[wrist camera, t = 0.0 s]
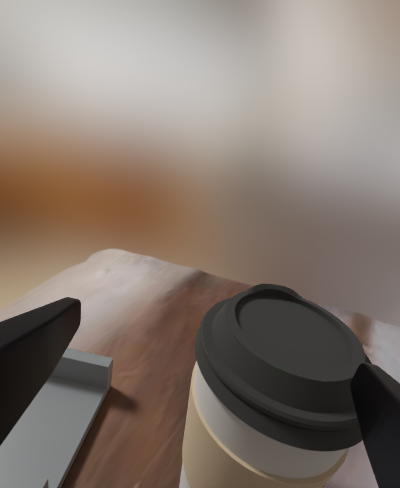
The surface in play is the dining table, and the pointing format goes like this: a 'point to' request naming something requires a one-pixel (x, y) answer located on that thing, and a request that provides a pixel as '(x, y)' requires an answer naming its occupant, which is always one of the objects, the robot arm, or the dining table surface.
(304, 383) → the coffee cup
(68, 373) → the tiered shelf
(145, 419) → the dining table surface
